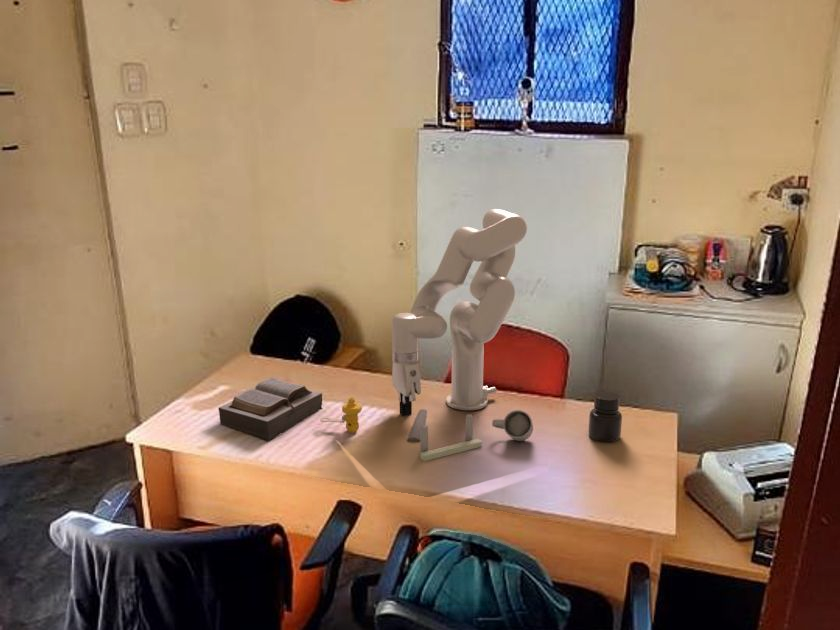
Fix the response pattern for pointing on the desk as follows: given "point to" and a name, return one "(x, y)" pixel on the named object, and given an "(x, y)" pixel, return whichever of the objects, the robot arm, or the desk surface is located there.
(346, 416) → the pressure relief valve
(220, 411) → the bible
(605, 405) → the ink bottle
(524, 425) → the ceramic mug
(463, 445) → the peg rack
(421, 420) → the half round rod
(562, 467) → the desk surface
